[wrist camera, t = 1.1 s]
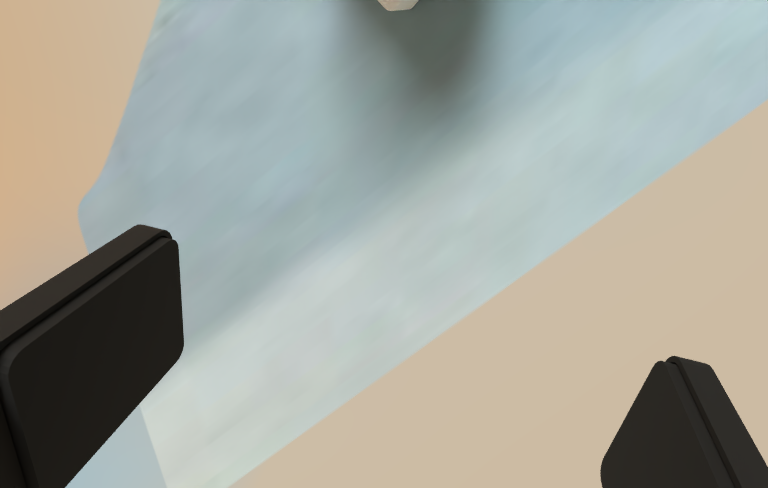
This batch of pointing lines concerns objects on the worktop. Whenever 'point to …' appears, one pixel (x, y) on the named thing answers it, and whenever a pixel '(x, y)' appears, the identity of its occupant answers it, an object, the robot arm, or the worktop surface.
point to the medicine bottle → (397, 4)
